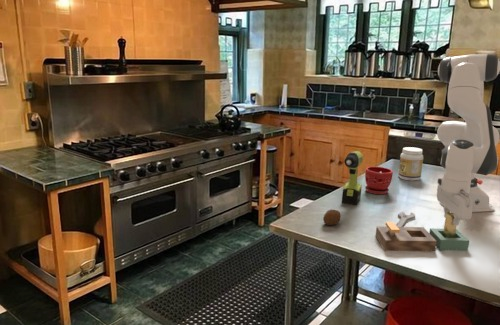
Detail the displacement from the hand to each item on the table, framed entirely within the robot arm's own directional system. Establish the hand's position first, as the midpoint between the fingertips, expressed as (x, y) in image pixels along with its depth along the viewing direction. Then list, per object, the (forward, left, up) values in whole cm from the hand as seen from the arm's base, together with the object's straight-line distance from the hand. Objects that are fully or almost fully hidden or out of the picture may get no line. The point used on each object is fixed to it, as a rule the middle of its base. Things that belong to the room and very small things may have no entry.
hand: (450, 221), depth 149 cm
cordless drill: (+28, -41, -9) cm, 50 cm away
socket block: (+16, 0, -9) cm, 18 cm away
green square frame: (0, 0, -9) cm, 9 cm away
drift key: (+21, 0, -8) cm, 23 cm away
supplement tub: (-15, -84, -9) cm, 86 cm away
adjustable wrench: (+12, -18, -10) cm, 24 cm away
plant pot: (+10, -59, -9) cm, 60 cm away
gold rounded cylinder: (0, 0, -9) cm, 9 cm away
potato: (+40, -17, -9) cm, 44 cm away
